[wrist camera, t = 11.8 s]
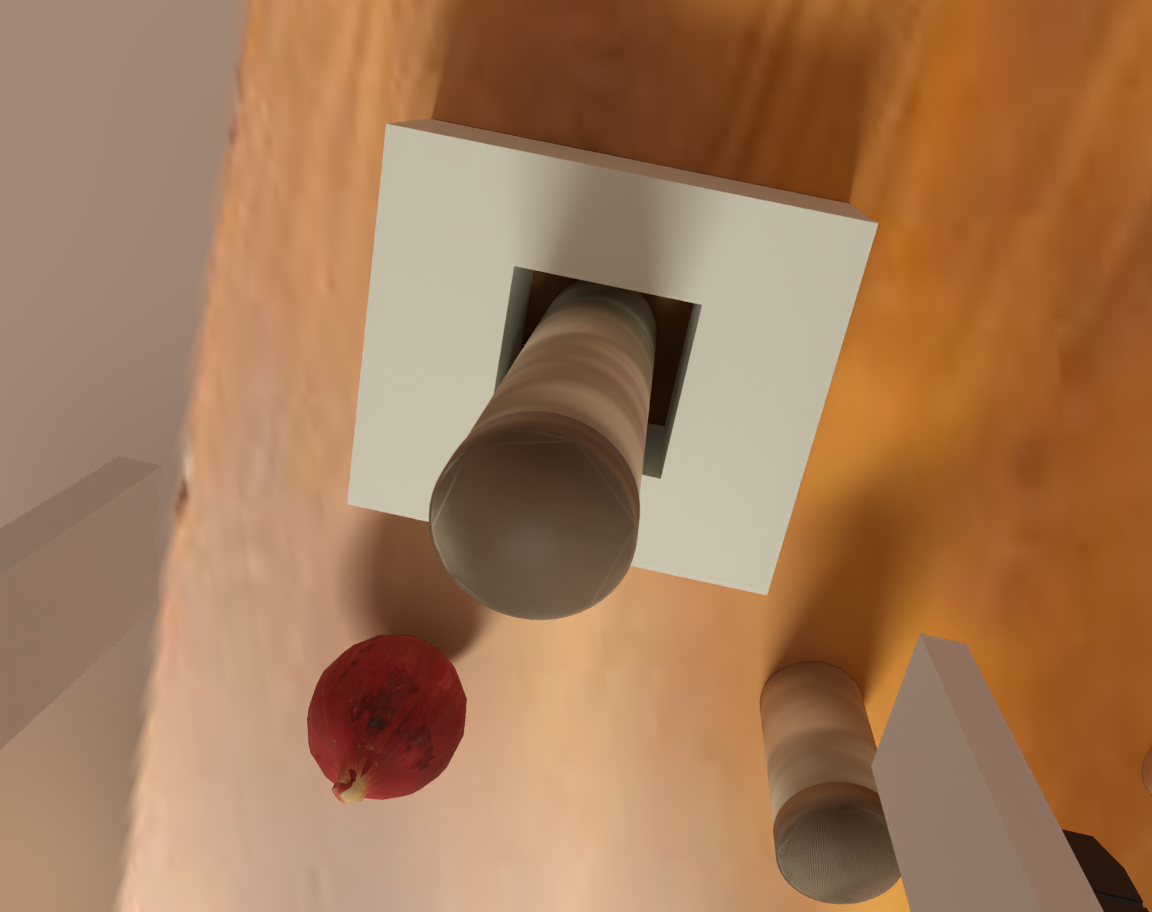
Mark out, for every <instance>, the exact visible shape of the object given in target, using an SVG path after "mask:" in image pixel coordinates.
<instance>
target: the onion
mask: <svg viewBox="0 0 1152 912" xmlns="http://www.w3.org/2000/svg"><path fill="white" fill-rule="evenodd" d="M466 702H467V699H466V696H465V693H464V690H463V688H462V685H461V682H460V680H459V677H458V674H457V672H456V670H455V668H454V666H453V665H452V664H451V662H450V661H449V660H448V659H447V658H446V657H445V656H444V655H443V653H442V652H441V651H440V650H439V649H438V648H437V647H435V646H433V645H431V644H429V643H427V642H425V641H423V640H421V639H419V638H417V637H415V636H407V635H381V636H376V637H374V638H371V639H368V640H366V641H363V642H360V643H358V644H355V645H353V646H352V647H350V648H349V649H348V650H346V651H345V652H344V653H343V654H341V655H340V656H339V657H338V658H337V659H336V660H335V661H334V662H333V663H332V664H331V665H330V666H329V667H328V668H327V669H325V670H324V672H323V674H322V675H321V677H320V679H319V681H318V683H317V685H316V688H315V691H314V694H313V697H312V700H311V703H310V705H309V710H308V717H307V724H308V742H309V748H310V752H311V754H312V756H313V757H314V759H315V760H316V762H317V764H318V765H319V767H320V768H321V770H322V772H323V773H324V775H325V776H326V778H328V779H329V780H330V781H331V782H333V783H334V786H333V788H332V791H333V793H334V795H335V796H336V797H337V798H338V799H339V800H340V801H341V802H342V803H344V804H348V803H351V802H362V800H363V799H364V798H370V799H381V800H383V799H390V798H396V797H402V796H406V795H410V794H413V793H414V792H416V791H418V790H420V789H421V788H423V787H424V786H426V785H427V784H428V783H430V782H431V781H433V780H434V779H435V778H437V777H438V776H439V775H440V774H441V773H442V772H443V771H444V770H445V769H446V767H447V766H448V764H449V762H450V760H451V758H452V756H453V754H454V752H455V751H456V749H457V747H458V745H459V743H460V741H461V739H462V737H463V734H464V726H465V716H466Z"/></svg>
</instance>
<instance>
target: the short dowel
mask: <svg viewBox="0 0 1152 912" xmlns="http://www.w3.org/2000/svg"><path fill="white" fill-rule="evenodd" d="M1142 778H1143V781H1144V784H1145V786H1146V788H1147V790H1148V791H1149V793H1150V794H1151V796H1152V748H1151V749H1150V750H1149V752H1148V754H1147V755H1146V757H1145V760H1144V762H1143V766H1142Z"/></svg>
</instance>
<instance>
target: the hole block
mask: <svg viewBox="0 0 1152 912" xmlns="http://www.w3.org/2000/svg"><path fill="white" fill-rule="evenodd" d="M877 226H878V223H877V222H876V221H874V220H873V219H871V218H870V217H868V216H867V215H865V214H864V213H862V212H861V211H860V210H858V209H857V208H855V207H854V206H852V205H851V204H849V203H844V202H839V201H834V200H829V199H824V198H819V197H814V196H809V195H804V194H799V193H795V192H790V191H785V190H780V189H775V188H770V187H765V186H760V185H755V184H750V183H745V182H740V181H735V180H730V179H725V178H720V177H715V176H711V175H706V174H701V173H696V172H691V171H686V170H681V169H676V168H671V167H666V166H661V165H656V164H651V163H646V162H641V161H636V160H631V159H627V158H622V157H617V156H612V155H607V154H602V153H597V152H592V151H587V150H582V149H577V148H572V147H567V146H562V145H557V144H552V143H547V142H543V141H538V140H533V139H528V138H523V137H518V136H513V135H508V134H503V133H498V132H493V131H488V130H483V129H478V128H473V127H468V126H463V125H459V124H454V123H449V122H444V121H439V120H434V119H425V120H416V121H406V122H397V123H388V124H386V132H385V141H384V151H383V161H382V171H381V180H380V190H379V200H378V209H377V219H376V229H375V239H374V248H373V258H372V268H371V277H370V287H369V297H368V307H367V316H366V326H365V336H364V345H363V355H362V365H361V375H360V384H359V394H358V404H357V413H356V423H355V433H354V443H353V452H352V462H351V472H350V481H349V491H348V501H347V504H349V505H353V506H358V507H363V508H367V509H372V510H376V511H381V512H386V513H390V514H395V515H399V516H404V517H409V518H413V519H418V520H422V521H427V522H429V505H430V500H431V496H432V492H433V489H434V487H435V484H436V481H437V480H438V478H439V476H440V474H441V472H442V471H443V469H444V467H445V466H446V464H447V463H448V461H449V460H450V458H451V457H452V455H453V453H454V452H455V451H456V449H457V448H458V447H459V445H460V444H461V443H462V442H463V441H464V440H465V439H466V438H467V436H468V434H469V433H470V431H471V430H472V428H473V426H474V425H475V423H476V422H477V420H478V419H479V417H480V415H481V414H482V412H483V411H484V409H485V408H486V406H487V404H488V403H489V401H490V400H491V398H492V396H493V395H494V393H495V392H496V390H497V389H498V387H499V385H500V384H501V382H502V381H503V379H504V377H505V376H506V374H507V373H508V371H509V370H510V368H511V366H512V365H513V363H514V362H515V360H516V358H517V357H518V355H519V354H520V350H521V344H522V338H523V332H524V326H525V321H526V315H527V309H528V303H529V297H530V291H531V285H532V279H533V273H534V270H536V271H541V272H546V273H551V274H555V275H560V276H565V277H570V278H575V279H580V280H584V281H589V282H594V283H599V284H604V285H609V286H613V287H618V288H623V289H628V290H633V291H638V292H642V293H647V294H652V295H657V296H662V297H667V298H671V299H676V300H681V301H686V302H691V303H693V306H692V310H691V315H690V319H689V323H688V327H687V332H686V336H685V340H684V344H683V349H682V353H681V357H680V361H679V366H678V370H677V374H676V379H675V383H674V387H673V391H672V396H671V400H670V404H669V408H668V413H667V417H666V421H665V425H664V426H660V425H656V424H651V423H647V432H646V442H645V451H644V460H643V469H642V478H641V487H640V496H639V500H640V519H639V529H638V538H637V545H636V550H635V554H634V557H633V560H632V563H631V565H630V566H634V567H639V568H643V569H648V570H653V571H657V572H662V573H666V574H671V575H676V576H680V577H685V578H689V579H694V580H699V581H703V582H708V583H712V584H717V585H722V586H726V587H731V588H735V589H740V590H745V591H749V592H754V593H758V594H763V595H767V593H768V590H769V587H770V583H771V580H772V577H773V573H774V570H775V567H776V563H777V560H778V557H779V553H780V550H781V547H782V543H783V540H784V537H785V533H786V530H787V527H788V523H789V520H790V517H791V513H792V510H793V507H794V503H795V500H796V497H797V493H798V490H799V487H800V483H801V480H802V477H803V473H804V470H805V467H806V463H807V460H808V457H809V453H810V450H811V447H812V443H813V440H814V437H815V433H816V430H817V427H818V423H819V420H820V417H821V413H822V410H823V407H824V403H825V400H826V397H827V393H828V390H829V387H830V383H831V380H832V377H833V373H834V370H835V367H836V363H837V360H838V356H839V353H840V350H841V346H842V343H843V340H844V336H845V333H846V330H847V326H848V323H849V320H850V316H851V313H852V310H853V306H854V303H855V300H856V296H857V293H858V290H859V286H860V283H861V280H862V276H863V273H864V270H865V266H866V263H867V260H868V256H869V253H870V250H871V246H872V243H873V240H874V236H875V233H876V230H877Z"/></svg>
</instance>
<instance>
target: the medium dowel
mask: <svg viewBox="0 0 1152 912" xmlns="http://www.w3.org/2000/svg"><path fill="white" fill-rule="evenodd" d="M760 713H761V721H762V730H763V738H764V747H765V755H766V763H767V772H768V780H769V789H770V797H771V805H772V814H773V822H774V828H773V834H774V844H775V852H776V860H777V864H778V868H779V870H780V872H781V874H782V875H783V877H784V879H785V880H786V881H787V882H788V883H789V884H790V885H791V886H792V887H793V888H794V889H795V890H797V891H798V892H800V893H801V894H803V895H805V896H807V897H809V898H812V899H814V900H817V901H821V902H825V903H831V904H853V903H859V902H863V901H867V900H870V899H873V898H875V897H877V896H879V895H881V894H882V893H884V892H886V891H887V890H888V889H890V888H891V887H892V886H893V885H894V884H895V883H896V882H897V881H898V879H899V878H900V877H901V874H900V870H899V866H898V863H897V859H896V856H895V852H894V848H893V845H892V841H891V837H890V834H889V830H888V826H887V823H886V819H885V815H884V812H883V808H882V804H881V801H880V797H879V793H878V790H877V786H876V782H875V779H874V775H873V771H872V768H871V766H872V763H873V760H874V757H875V755H876V752H877V747H876V744H875V741H874V737H873V734H872V730H871V727H870V723H869V720H868V716H867V713H866V709H865V706H864V703H863V699H862V696H861V693H860V690H859V688H858V686H857V684H856V683H855V681H854V680H853V679H852V678H851V677H850V676H849V675H848V674H847V673H845V672H844V671H843V670H841V669H839V668H837V667H835V666H832V665H829V664H826V663H820V662H803V663H797V664H794V665H791V666H788V667H786V668H784V669H782V670H780V671H779V672H777V673H776V674H775V675H774V676H773V677H772V678H771V679H770V680H769V681H768V682H767V683H766V685H765V687H764V688H763V691H762V693H761V697H760Z"/></svg>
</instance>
